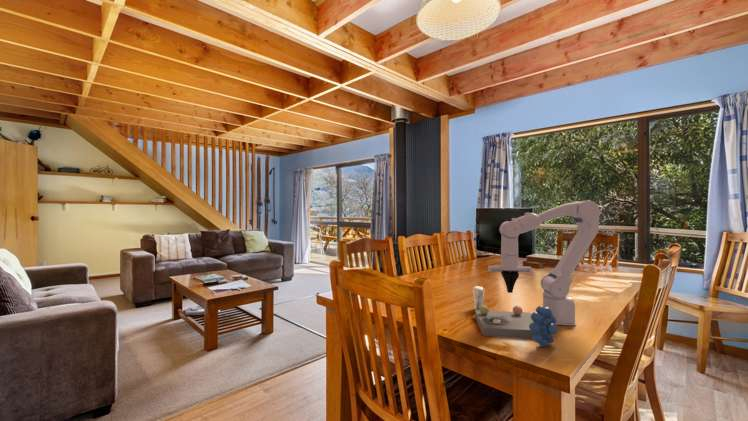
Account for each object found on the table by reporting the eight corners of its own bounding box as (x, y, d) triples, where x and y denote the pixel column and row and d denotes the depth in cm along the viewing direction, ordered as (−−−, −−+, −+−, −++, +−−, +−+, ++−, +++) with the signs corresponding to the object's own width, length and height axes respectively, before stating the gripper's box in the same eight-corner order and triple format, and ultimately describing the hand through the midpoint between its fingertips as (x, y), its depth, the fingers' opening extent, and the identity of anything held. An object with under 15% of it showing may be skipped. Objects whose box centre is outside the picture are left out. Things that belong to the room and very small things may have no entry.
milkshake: (480, 312, 125) (480, 286, 125) (470, 308, 130) (470, 283, 130) (488, 310, 127) (488, 285, 127) (478, 307, 132) (478, 282, 132)
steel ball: (488, 321, 110) (496, 328, 110) (491, 325, 107) (498, 332, 107) (495, 315, 110) (502, 322, 109) (498, 318, 106) (505, 325, 106)
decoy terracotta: (521, 313, 115) (521, 304, 115) (523, 316, 112) (523, 307, 112) (511, 313, 116) (511, 304, 116) (514, 316, 113) (513, 307, 113)
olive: (488, 313, 116) (487, 304, 116) (489, 316, 113) (489, 306, 113) (478, 312, 117) (478, 303, 117) (480, 315, 114) (480, 306, 114)
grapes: (546, 357, 87) (546, 312, 87) (523, 348, 93) (523, 306, 93) (569, 347, 93) (569, 305, 93) (546, 339, 99) (546, 300, 99)
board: (529, 319, 117) (529, 312, 117) (547, 339, 99) (547, 331, 99) (475, 316, 120) (475, 310, 120) (483, 335, 102) (483, 327, 102)
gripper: (527, 253, 120) (527, 289, 120) (486, 252, 122) (486, 288, 122) (533, 256, 113) (533, 294, 113) (490, 255, 115) (490, 293, 115)
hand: (509, 292), depth 117 cm, fingers closed
